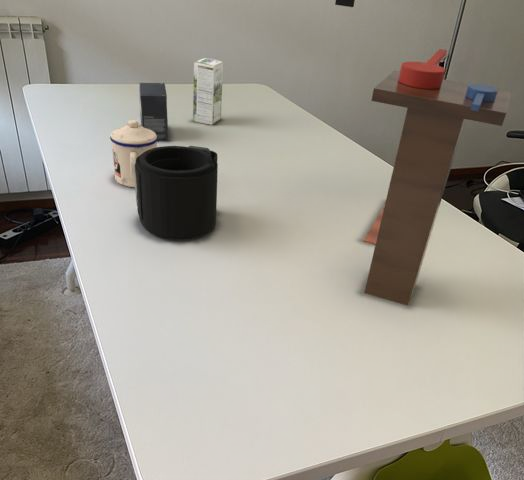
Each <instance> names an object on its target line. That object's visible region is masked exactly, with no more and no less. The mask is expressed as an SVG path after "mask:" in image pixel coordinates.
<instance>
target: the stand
mask: <svg viewBox="0 0 524 480" xmlns="http://www.w3.org/2000/svg"><path fill="white" fill-rule="evenodd" d="M399 75H400V71H398V70H393V71H391V73H390V74H388V75H387V76H386V77H385V78H384V79H383V80H382V81H381V82H380V83H378V84H377V85H375V86H374V88H373V91H372V96H371V102H375V103H380V104H386V105H391V106H395V107H399V108H400V107H401V108H406V113H405V118H404V122H403V127H402V130H401V135H400V139H399V143H398V148H397V151H396V156H395V161H394V165H393V168H392V173H391V177H390V181H389V185H388V188H387V189H388V190H387V193H386V198H385V203H384V206H383V207H382V210H381V211H380V212H379V215H378V216H377V218H376V220H374V223H373V224H372V225H371V227H370V229H369V231H368V232H367V234H366V236H365V237H364V239H363V242H364V243H369V244H372V245H375V246H374V249H373V254H372V258H371V262H370V266H369V270H368V275H367V280H366V283H365V288H364V294H366V295H370V296H373V297H375V298H376V297H377V298H380V299H384V300H388V301H391V302H394V303H397V304H401V305H404V306H409V304H410V302H411V300H412V296H413V293H414V291H415V288H416V285H417V283H418V282H417V281H418V278H419V275H420V273H421V268H422V265H423V262H424V258H425V256H426V252H427V250H428V245H429V242H430V239H431V236H432V232H433V229H434V226H435V222H436V219H437V216H438V213H439V209H440V205H441V202H442V199H443V196H444V192H445V189H446V186H447V182H448V180H449V176H450V172H451V170H452V166H453V162H454V159H455V156H456V153H457V151H458V150H457V149H458V147H459V143H460V139H461V136H462V133H463V129H464V126H465V123H466V120H469V121H474V122H479V123H484V124H488V125H494V126H499V127H502V126H503V124H504V121H505V120H506V116H507V112H508V109H509V104H510V101H511V100H510V99H511V96H512V93H513V92H512V90H505V89H500V88H496V89H497V90H498V92H497V95H496V99H495V101H493V102H482V103H481V106H480V108H479V111H473V110H471V106H472V103H473V101H474V100H472V99H469V98H468V97H466V92H467V89H468V86H469V85H470V84H471V83H467V82H461V81H455V80H450V79H444V78H443V81H442V85H441V87H440V88H437V89H422V88H416V87H411V86H407V85H404V84H402V83H400V82H399V81H398V79H399Z"/></svg>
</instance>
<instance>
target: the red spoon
mask: <svg viewBox="0 0 524 480" xmlns="http://www.w3.org/2000/svg"><path fill="white" fill-rule="evenodd" d="M447 52H448V49H441V48H439V49H438V50H437V51H436V52H435V53H434V54H433V55H432V56H431V57H430V58H429V59H428V60H427V61H426V62H422V61H404V62H402V63H401V66H400V71H399V72H400V75H399V79H398V81H399V82H400V83H402V84H404V85H407V86H411V87H416V88H422V89H437V88H440V87H441V85H442V81H443V79H444V78H445V74H446V68H444V67H443V66H440V65H439V64H440V63H441V62H442V60H443V59H444V58H445V57H446V56H447Z"/></svg>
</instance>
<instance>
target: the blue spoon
mask: <svg viewBox="0 0 524 480" xmlns="http://www.w3.org/2000/svg"><path fill="white" fill-rule="evenodd" d="M469 84H470V85H469V86H468V89H467V92H466V97H468V98H469V99H472V100H474V101H473V103H472V106H471V110H473V111H479V108H480V106H481V103H482V102H493V101H495V99H496V95H497V92H498V90H497V89H498V88H496V87H494V86H492V85H488V84H481V83H469Z"/></svg>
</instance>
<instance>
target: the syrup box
mask: <svg viewBox="0 0 524 480" xmlns="http://www.w3.org/2000/svg"><path fill="white" fill-rule="evenodd" d="M223 77H224V62H223V61H221V60H218V59H215V58H210V57H209V58H208V57H207V58H206V57H203V58H200V59H199V60H196V61H194V62H193V97H192V98H193V101H192V104H193V107H192V121H193V122H195V123H200V124H207V125H210V126H213V125H214V124H216V123H218V122H219V121H221V119H222V100H223V99H222V98H223Z"/></svg>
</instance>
